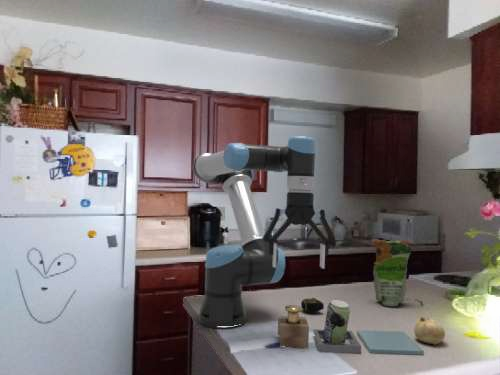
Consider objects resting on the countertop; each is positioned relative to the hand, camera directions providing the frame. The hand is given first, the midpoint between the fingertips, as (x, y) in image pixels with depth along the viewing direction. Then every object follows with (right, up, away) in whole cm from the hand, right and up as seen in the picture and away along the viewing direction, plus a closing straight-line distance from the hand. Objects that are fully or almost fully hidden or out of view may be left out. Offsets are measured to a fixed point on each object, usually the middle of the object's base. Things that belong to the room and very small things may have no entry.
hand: (298, 267), depth 109 cm
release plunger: (-2, -18, -1) cm, 18 cm away
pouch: (+40, -22, +39) cm, 60 cm away
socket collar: (+10, -21, -2) cm, 23 cm away
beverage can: (+10, -21, -2) cm, 24 cm away
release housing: (-2, -21, -1) cm, 21 cm away
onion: (+38, -22, +2) cm, 44 cm away
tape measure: (+11, -21, +26) cm, 35 cm away
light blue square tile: (+25, -21, 0) cm, 33 cm away
